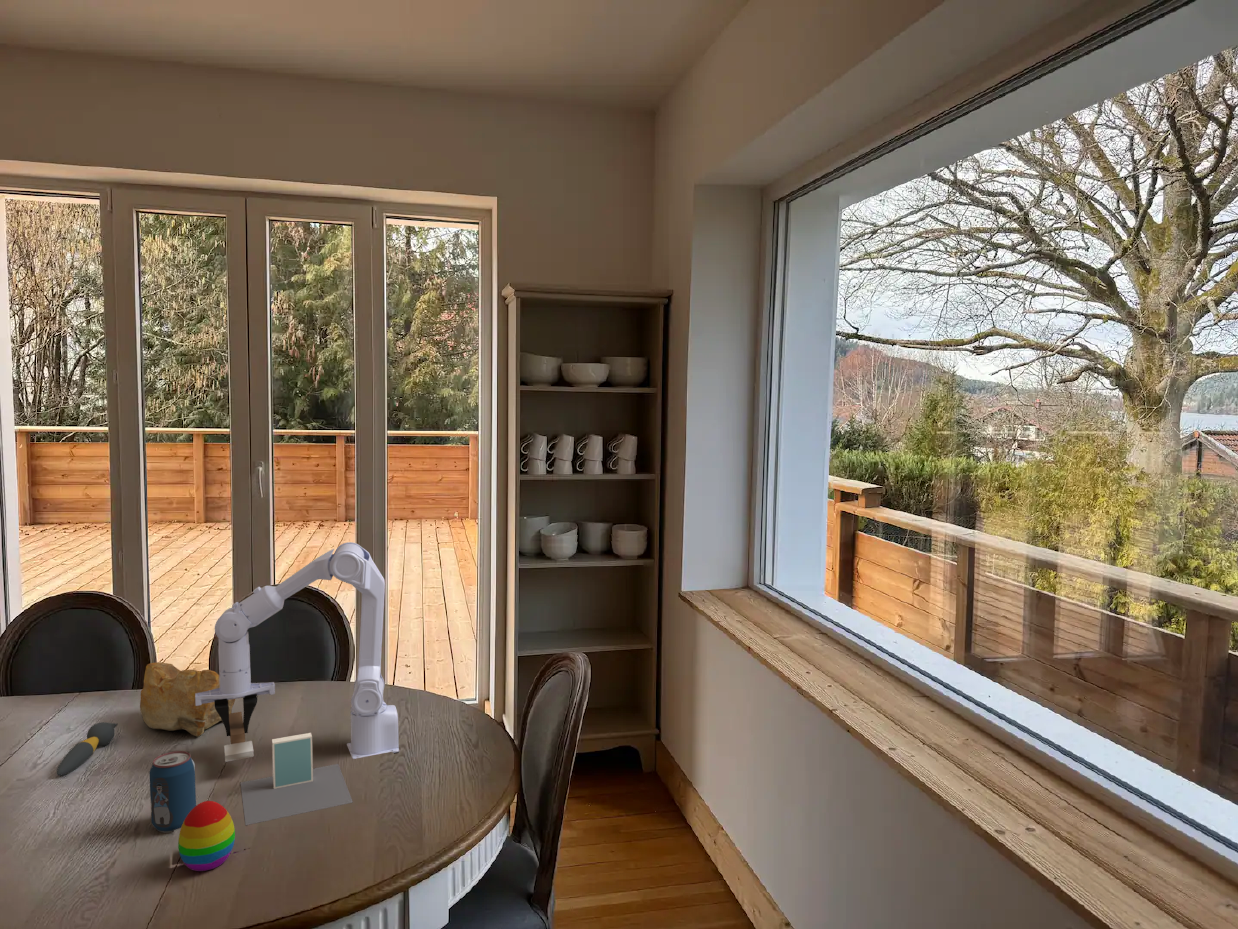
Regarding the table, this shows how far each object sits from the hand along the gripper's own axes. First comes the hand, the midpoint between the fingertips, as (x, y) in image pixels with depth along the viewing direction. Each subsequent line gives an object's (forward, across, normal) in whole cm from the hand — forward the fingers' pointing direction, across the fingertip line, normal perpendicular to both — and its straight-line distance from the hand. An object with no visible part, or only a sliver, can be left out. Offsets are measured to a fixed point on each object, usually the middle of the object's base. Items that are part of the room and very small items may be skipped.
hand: (237, 733), depth 166 cm
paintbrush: (+6, +27, -16) cm, 32 cm away
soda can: (+6, +11, +21) cm, 25 cm away
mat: (+6, -9, +20) cm, 22 cm away
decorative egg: (+6, +6, +36) cm, 37 cm away
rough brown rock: (+6, +7, -24) cm, 26 cm away
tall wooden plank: (+2, 0, 0) cm, 2 cm away
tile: (+6, -9, +16) cm, 19 cm away
